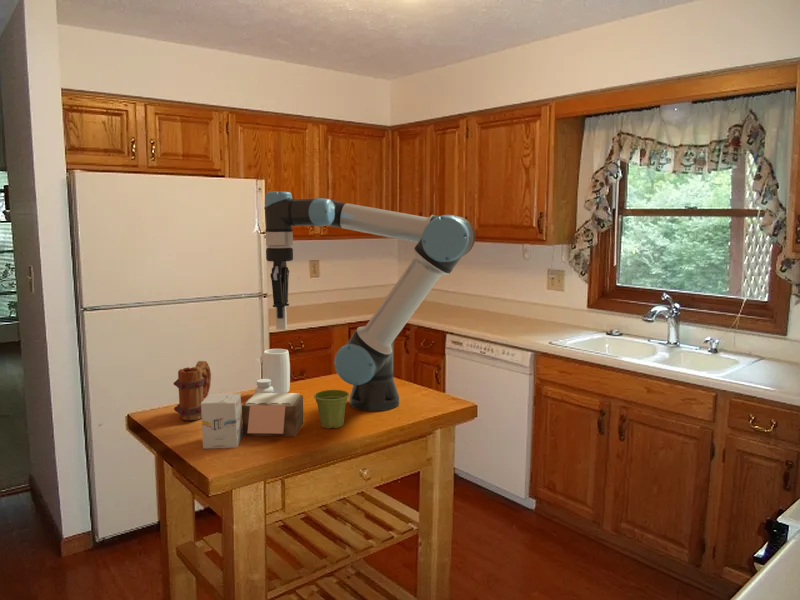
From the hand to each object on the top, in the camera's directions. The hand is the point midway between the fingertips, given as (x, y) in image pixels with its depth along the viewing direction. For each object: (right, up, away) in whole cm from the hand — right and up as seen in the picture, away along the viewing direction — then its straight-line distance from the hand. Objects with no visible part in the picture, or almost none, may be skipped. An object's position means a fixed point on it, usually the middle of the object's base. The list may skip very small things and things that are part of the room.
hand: (281, 329), depth 177 cm
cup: (-5, -22, +20) cm, 31 cm away
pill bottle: (-5, -25, +1) cm, 25 cm away
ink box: (-11, -28, -22) cm, 37 cm away
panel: (0, -22, -20) cm, 30 cm away
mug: (-24, -25, -1) cm, 35 cm away
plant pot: (+16, -26, -9) cm, 32 cm away
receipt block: (0, -26, -13) cm, 29 cm away
